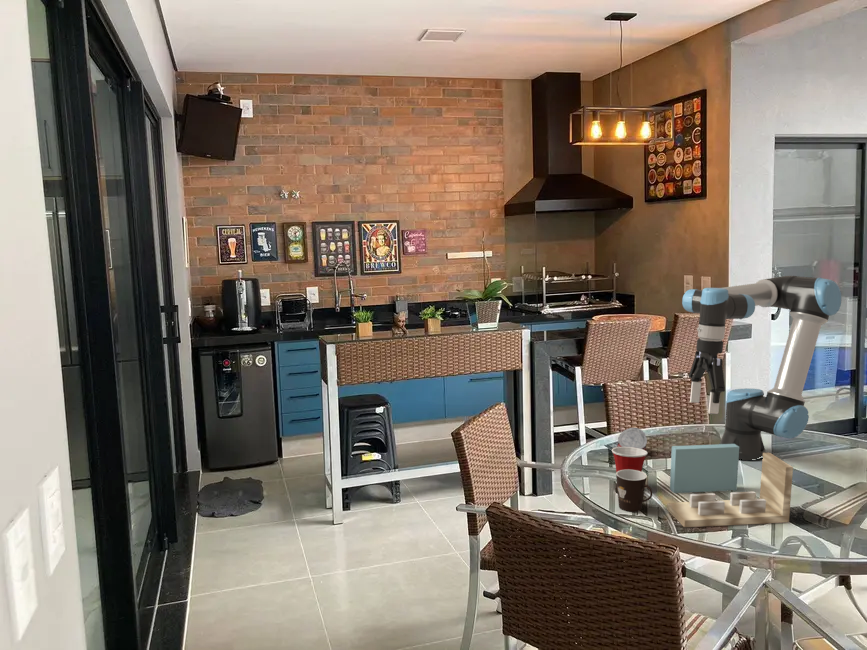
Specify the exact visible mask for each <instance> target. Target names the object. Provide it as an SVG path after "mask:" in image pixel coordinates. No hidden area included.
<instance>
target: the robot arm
mask: <svg viewBox="0 0 867 650" xmlns="http://www.w3.org/2000/svg"><path fill="white" fill-rule="evenodd" d="M840 289H841V288H840V286H839V284H837V282H835V281H834V280H832V279H829V278H822V277H813V276H812V277H811V276H798V275H783V276H778V277H777V276H775V277H771V278H770V277H769V278H763V279H760V280H758V281H756V283H755V282H754V283H749V284H741V285H733V286H726V287H705V288H703V289H698V288H695V289H694V288H693V289H691V288H690V289H688V290H686V291H685V293H684V294H683V296H682V301H681V304H682V307H683V309H684V310H685V311H686V312H689V313H692V314H699V317H698V318H699V320H698V327H697V328H696V331H697V340H696V348H695V350H696V351H695V353H694V354H695V355H694V359H693V362H692V365H691V368H690V371H689V374H688V377H689V378H690V379H691V389H690V399H689V403H696V404H697V403H700V399H701V397H700V396H701V390H702V389H701V387H702V378H703V376H704V374H705V372H706V373H707V374H708V378H709V382H710V386H711V389H710V390H709V401H708V402H709V403H708V404H709V405H708V414H716V415H718V414H719V410H720V402H721V393H725V392H726V387H725V379H724V370H723V362H724V360H723V358H718V355H719V354H721V353H723V352H724V351H723V350H724V339H725V333H726V332H725V331H726V321H727V320H742V319H743V320H744V319H748V318H750V317H752V316H753V315H754V313H755V310H756V306H759V307H762V308H771V307H772V308H779V309H785V310H789V311H790V312H789V315H790V316H791V319H792V322H791V326H790V330H789V333H788V337H787V340H786V344H785V346H784V347H785V348H784V350H783V354H782V358H781V360H780V365H779V368H778V372H777V375H776V379H775V383H774V386H773V388H772V389H769V390H768V391H767V393H766V395H765V393H764V391H763V390H762V389H759V388H736V389H731V390H729V391H728V393H727V396H726V401H725V403H726V404H725V422H724V423H725V424H724V426H725V427H724V432H723V435H722V436H721V439H720V442H719V443H718V444H736V445H737V446H739V459H740V460H739V461H747V460H752V459H757V458H759V457H761V456H763V453H766V449H765V445H764V441H763V438H762V433H766V434H769V435H773V436H775V437H779V438H785V439H794V438H796V437H798V436H799V435H801V434H802V433H803V432H804V430H805V429H806V427H807V425H808V423H809V418H810V417H809V416H810V415H809V410H808V408H807V407H806V406H805V403H806V400H805V398H803V396H802V394H803V391H804V388H805V385H806V384H805V383H806V381H807V377H808V373H809V370H810V366H811V363H812V359H813V355H814V352H815V349H816V345H817V342H818V338H819V334H820V331H821V327H822V326H823V325H824V324H826V323H827V322H828V321H829V318H830V317H831V316H835V315H836V314H837V313H838V312H839V311H840V309H841V306H842V293H841V290H840ZM741 459H742V460H741Z"/></svg>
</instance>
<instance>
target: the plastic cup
mask: <svg viewBox="0 0 867 650" xmlns="http://www.w3.org/2000/svg"><path fill="white" fill-rule="evenodd" d="M611 452H612V454H613V460H614V463H615V473H616V472H618V471H620V470H628V469H629V470H637V471H641V472H643V467H644V463H645V460H646V457H647V456H648V451H647V450H646V451H645V450H643V449H639V448H634V447H617V446H616V447H613V448H612V449H611Z"/></svg>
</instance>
